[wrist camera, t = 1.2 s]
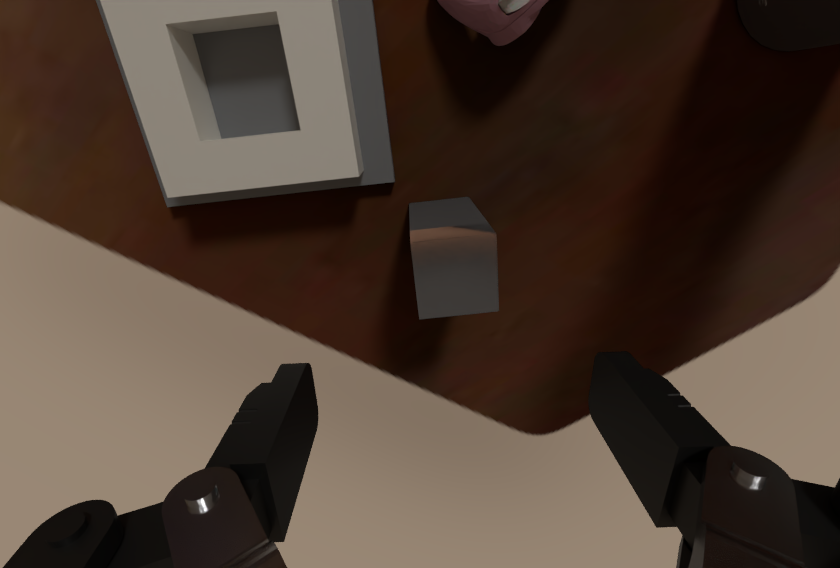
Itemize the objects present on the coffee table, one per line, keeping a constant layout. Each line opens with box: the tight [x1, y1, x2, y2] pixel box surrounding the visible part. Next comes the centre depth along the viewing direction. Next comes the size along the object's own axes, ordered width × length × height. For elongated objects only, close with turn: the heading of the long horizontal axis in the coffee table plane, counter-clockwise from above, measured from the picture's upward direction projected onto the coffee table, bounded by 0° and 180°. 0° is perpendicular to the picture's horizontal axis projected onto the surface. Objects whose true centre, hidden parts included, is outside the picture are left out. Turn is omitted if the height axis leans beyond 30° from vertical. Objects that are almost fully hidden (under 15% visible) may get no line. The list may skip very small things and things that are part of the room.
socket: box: [96, 0, 395, 207], centre depth 25 cm, size 16×14×4 cm
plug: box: [409, 197, 499, 319], centre depth 26 cm, size 4×4×10 cm
